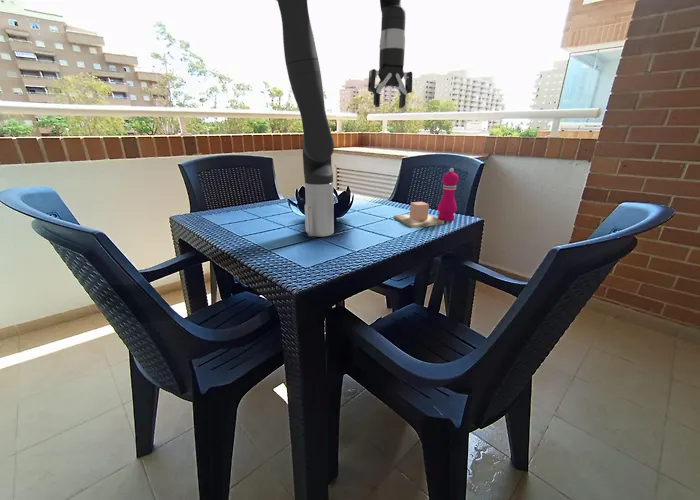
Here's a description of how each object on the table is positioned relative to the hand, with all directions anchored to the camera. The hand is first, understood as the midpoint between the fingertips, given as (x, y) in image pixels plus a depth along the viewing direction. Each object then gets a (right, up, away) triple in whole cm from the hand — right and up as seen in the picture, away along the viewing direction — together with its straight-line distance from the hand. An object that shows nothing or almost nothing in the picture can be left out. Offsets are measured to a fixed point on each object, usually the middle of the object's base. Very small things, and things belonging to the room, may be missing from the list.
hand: (389, 107), depth 103 cm
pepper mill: (+26, -34, +25) cm, 49 cm away
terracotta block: (+14, -34, +21) cm, 42 cm away
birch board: (+14, -35, +22) cm, 43 cm away
